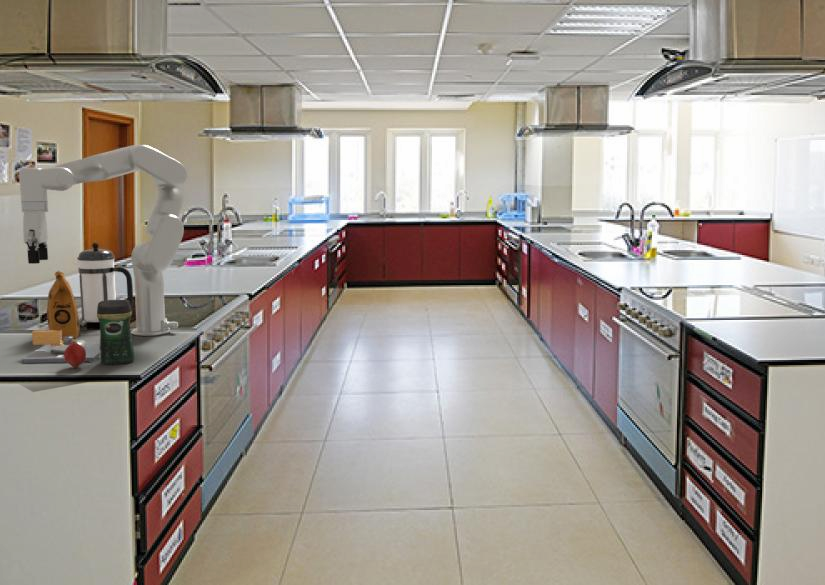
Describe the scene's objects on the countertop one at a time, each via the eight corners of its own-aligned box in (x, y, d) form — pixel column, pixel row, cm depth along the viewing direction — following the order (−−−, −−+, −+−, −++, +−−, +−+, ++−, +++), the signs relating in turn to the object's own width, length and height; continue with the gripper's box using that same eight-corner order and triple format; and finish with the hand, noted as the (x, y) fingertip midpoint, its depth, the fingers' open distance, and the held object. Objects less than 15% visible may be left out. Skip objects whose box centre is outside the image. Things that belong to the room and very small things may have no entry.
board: (111, 346, 254) (110, 342, 254) (93, 361, 234) (93, 356, 234) (46, 348, 252) (45, 343, 252) (22, 363, 232) (22, 358, 232)
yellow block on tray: (90, 345, 248) (89, 327, 248) (80, 353, 239) (79, 333, 238) (40, 346, 247) (39, 327, 246) (28, 354, 237) (27, 334, 236)
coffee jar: (135, 358, 239) (132, 297, 236) (132, 364, 232) (129, 301, 229) (101, 359, 237) (98, 298, 234) (97, 365, 229) (94, 302, 227)
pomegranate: (61, 367, 227) (59, 340, 226) (81, 364, 231) (80, 337, 230) (69, 371, 223) (67, 343, 222) (90, 367, 227) (88, 340, 226)
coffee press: (87, 329, 281) (82, 245, 277) (72, 323, 293) (67, 242, 289) (135, 323, 293) (131, 242, 288) (118, 317, 304) (114, 239, 300)
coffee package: (47, 341, 262) (43, 275, 259) (48, 334, 273) (44, 270, 270) (79, 339, 266) (76, 274, 262) (80, 332, 277) (76, 269, 274)
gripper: (29, 206, 256) (33, 258, 258) (13, 208, 239) (17, 265, 241) (54, 206, 257) (57, 258, 260) (40, 208, 240) (43, 264, 243)
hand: (38, 261), depth 251 cm, fingers open, 9 cm apart
